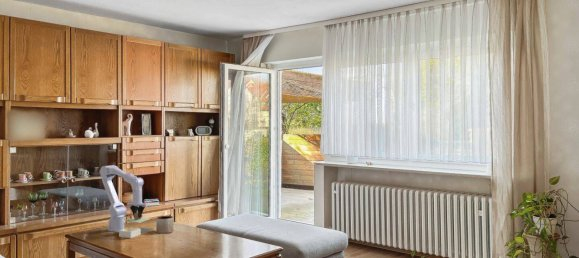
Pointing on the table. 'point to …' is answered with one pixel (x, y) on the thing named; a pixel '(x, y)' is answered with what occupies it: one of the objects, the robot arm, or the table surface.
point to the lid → (137, 219)
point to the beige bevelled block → (130, 233)
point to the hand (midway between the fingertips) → (137, 217)
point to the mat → (145, 230)
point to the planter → (164, 224)
